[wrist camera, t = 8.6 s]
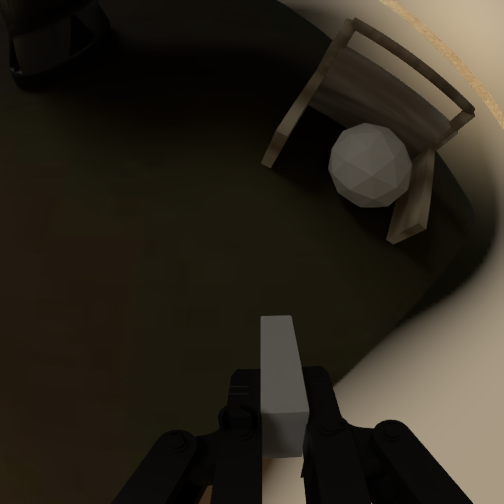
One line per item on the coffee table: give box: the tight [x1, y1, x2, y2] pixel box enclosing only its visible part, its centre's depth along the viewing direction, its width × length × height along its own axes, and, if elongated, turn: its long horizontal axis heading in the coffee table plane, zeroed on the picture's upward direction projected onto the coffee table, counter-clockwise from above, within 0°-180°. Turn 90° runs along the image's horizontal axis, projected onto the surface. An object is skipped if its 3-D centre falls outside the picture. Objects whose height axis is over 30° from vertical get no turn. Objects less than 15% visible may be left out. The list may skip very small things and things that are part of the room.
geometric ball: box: [328, 123, 412, 207], centre depth 24 cm, size 8×8×8 cm
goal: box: [261, 18, 475, 244], centre depth 22 cm, size 12×15×13 cm
